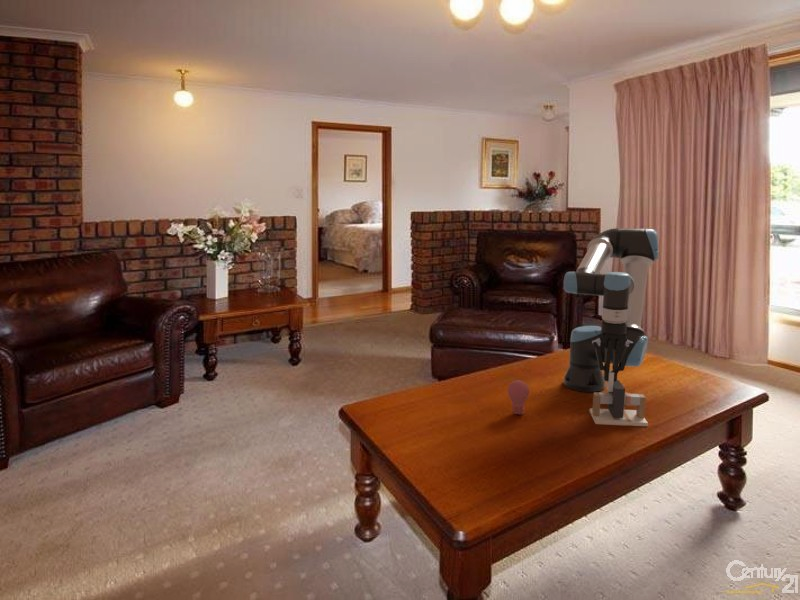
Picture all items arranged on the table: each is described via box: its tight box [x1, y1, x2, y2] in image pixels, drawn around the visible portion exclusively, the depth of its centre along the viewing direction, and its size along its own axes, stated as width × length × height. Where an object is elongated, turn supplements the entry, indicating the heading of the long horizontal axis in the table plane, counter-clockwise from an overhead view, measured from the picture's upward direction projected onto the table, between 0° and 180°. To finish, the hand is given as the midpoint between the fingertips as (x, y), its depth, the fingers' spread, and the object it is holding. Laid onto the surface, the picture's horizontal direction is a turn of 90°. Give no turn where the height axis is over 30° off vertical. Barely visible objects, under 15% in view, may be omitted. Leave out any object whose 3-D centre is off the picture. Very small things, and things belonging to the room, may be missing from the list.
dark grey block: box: [607, 379, 626, 418], centre depth 174 cm, size 3×8×10 cm, turn 172°
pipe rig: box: [589, 391, 649, 427], centre depth 174 cm, size 16×10×9 cm, turn 82°
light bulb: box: [507, 379, 530, 415], centre depth 179 cm, size 7×7×12 cm
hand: (609, 390), depth 174 cm, fingers closed
